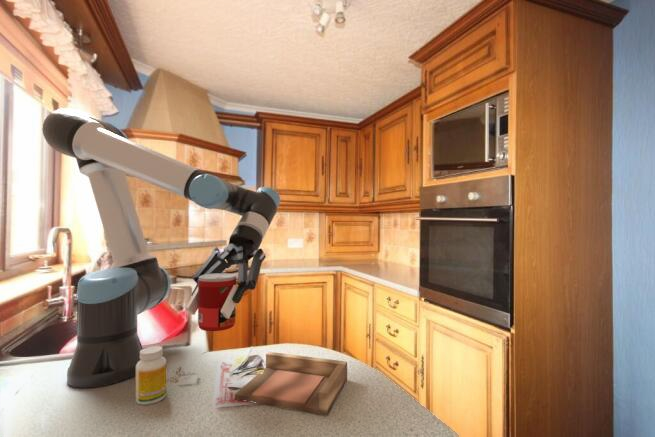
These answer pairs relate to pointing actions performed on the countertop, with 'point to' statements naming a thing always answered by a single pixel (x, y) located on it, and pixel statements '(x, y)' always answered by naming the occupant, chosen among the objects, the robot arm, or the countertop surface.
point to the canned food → (214, 301)
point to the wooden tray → (297, 383)
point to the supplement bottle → (150, 376)
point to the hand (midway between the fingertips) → (207, 313)
